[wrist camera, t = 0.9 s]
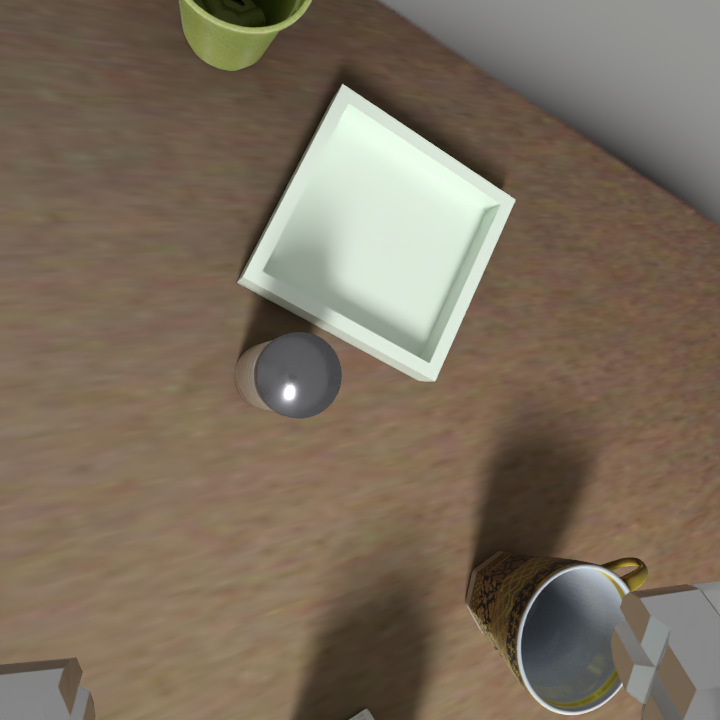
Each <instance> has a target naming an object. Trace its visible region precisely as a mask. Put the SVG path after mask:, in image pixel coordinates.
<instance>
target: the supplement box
mask: <svg viewBox="0 0 720 720" xmlns="http://www.w3.org/2000/svg"><path fill="white" fill-rule="evenodd" d="M349 720H375V719H374V718H373V716H372V715H371V713H370V712H369V710H368V709H364V710H363V711H361V712H360V713H358V714H357V715H355V716H354V717H352V718H351V719H349Z"/></svg>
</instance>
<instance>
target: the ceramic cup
mask: <svg viewBox="0 0 720 720" xmlns="http://www.w3.org/2000/svg"><path fill="white" fill-rule="evenodd" d="M625 566H639V567H638V568H637V569H635V570H634V571H632V572H630V573H628V574H626V575H624V576H622V577H619V576H618V575H616V574H615V573H614V572H612V570H615V569H618V568H621V567H625ZM647 575H648V570H647V567H646V565H645V564H644V563H643V562H642V561H641V560H640V559H638V558H622V559H618V560H615V561H612V562H609V563H606V564H602V565H597V564H593V563H588V562H583V561H578V560H571V559H563V558H549V557H532V556H526V555H520V554H514V553H509V552H502V551H498V552H496V553H495V554H494V555H492V556H491V557H490V558H488V559H487V560H486V561H484V562H483V563H482V564H480V565H479V566H478V567H477V568H475V569H474V570H473V572H472V575H471V580H470V584H469V589H468V593H467V597H466V605H467V607H468V609H469V611H470V613H471V615H472V617H473V618H474V620H475V622H476V624H477V626H478V627H479V629H480V630H481V632H482V633H483V634H484V635H485V637H486V638H487V639H488V640H489V642H490V643H491V644H492V645H493V646H494V648H495V649H496V650H497V652H498V653H499V654H500V655H501V657H502V658H503V659H504V660H505V662H506V663H507V665H508V667H509V669H510V670H511V672H512V673H513V674H514V676H515V677H516V678H517V680H518V681H519V682H520V684H521V685H522V686H523V687H524V688H525V689H526V691H527V692H528V693H529V694H530V695H531V696H532V697H533V698H534V699H535V700H536V701H537V702H538V703H539V704H540V705H542V706H543V707H545V708H547V709H549V710H551V711H553V712H556V713H559V714H565V715H577V714H582V713H587V712H589V711H592V710H594V709H596V708H598V707H600V706H601V705H603V704H604V703H606V702H607V701H608V700H609V699H611V698H612V697H613V696H614V695H615V694H616V693H617V692H618V690H619V689H620V688H621V687H622V685H623V684H622V682H621V680H620V678H619V676H618V674H617V671H616V668H615V665H614V662H613V657H612V648H611V639H612V634H613V630H614V627H615V626H616V625H617V624H618V623H619V622H621V621H622V620H623V619H624V618H625V616H624V615H623V613H622V611H621V609H620V606H621V602H622V599H623V597H624V596H625V595H626V594H627V593H629V592H632V591H634V590H636V589H637V588H639V587H640V586H641V585H642V584H643V583H644V581H645V580H646V578H647Z"/></svg>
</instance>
